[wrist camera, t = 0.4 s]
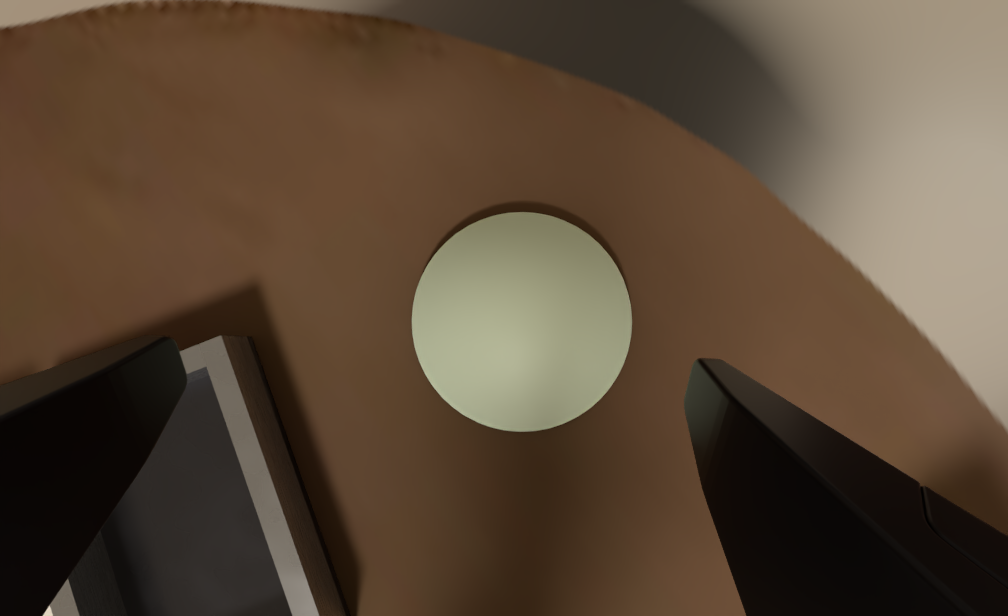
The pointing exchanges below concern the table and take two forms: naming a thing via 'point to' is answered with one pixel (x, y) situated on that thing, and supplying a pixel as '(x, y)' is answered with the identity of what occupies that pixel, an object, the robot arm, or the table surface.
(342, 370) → the table surface
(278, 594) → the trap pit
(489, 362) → the pad
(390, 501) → the table surface
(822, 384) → the table surface
